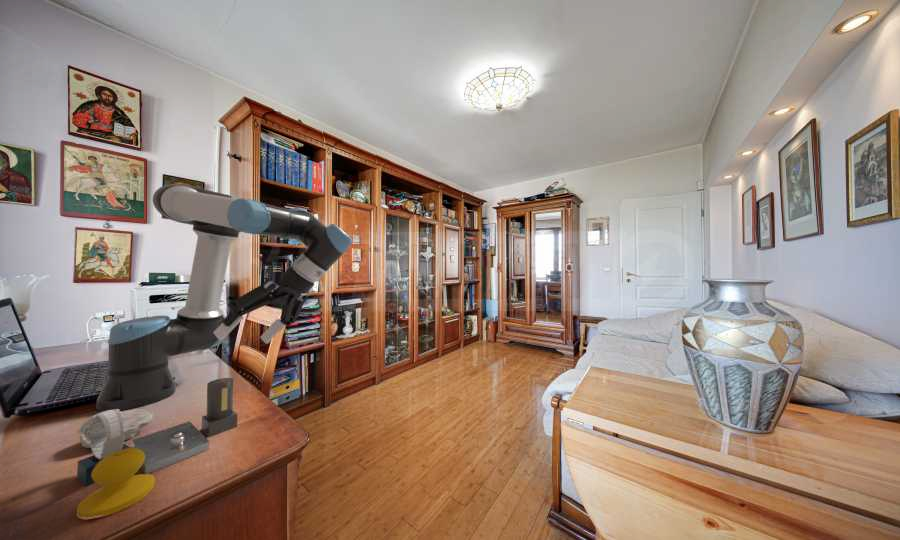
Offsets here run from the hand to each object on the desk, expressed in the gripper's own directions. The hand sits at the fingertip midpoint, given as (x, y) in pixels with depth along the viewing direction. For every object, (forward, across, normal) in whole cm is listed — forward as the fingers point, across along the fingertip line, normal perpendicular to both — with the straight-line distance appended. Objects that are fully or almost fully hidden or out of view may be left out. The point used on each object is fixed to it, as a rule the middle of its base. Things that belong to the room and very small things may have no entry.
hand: (242, 338), depth 68 cm
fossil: (+31, -3, +3) cm, 31 cm away
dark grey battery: (+18, +3, -10) cm, 21 cm away
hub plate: (+22, -5, -10) cm, 24 cm away
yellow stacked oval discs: (+21, -16, -17) cm, 31 cm away
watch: (+26, -12, -8) cm, 30 cm away
